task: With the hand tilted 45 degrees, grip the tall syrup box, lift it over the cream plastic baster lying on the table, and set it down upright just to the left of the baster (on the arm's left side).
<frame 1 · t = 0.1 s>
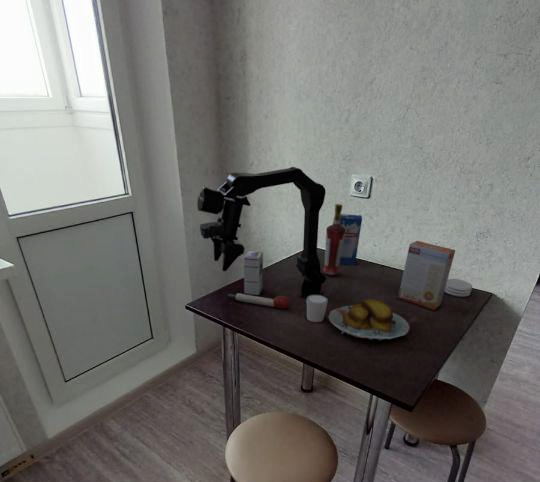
hand: (219, 265, 129), 15 cm above the table, tool pointing down, fingers open, 9 cm apart
cracker box: (418, 302, 147), on the table
liquor: (330, 274, 167), on the table
coaster: (456, 292, 156), on the table
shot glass: (315, 318, 134), on the table
syrup box: (253, 292, 150), on the table
baster: (258, 303, 141), on the table
milk carton: (343, 262, 181), on the table
food on plate: (367, 327, 130), on the table
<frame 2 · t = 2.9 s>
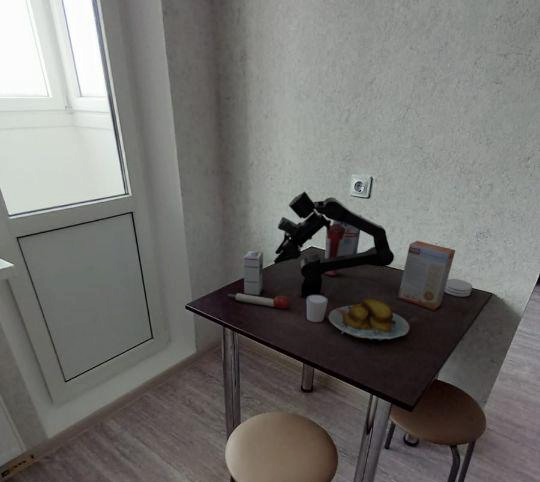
hand: (275, 257, 142), 14 cm above the table, tool tilted 45°, fingers open, 9 cm apart
nothing on the table moved.
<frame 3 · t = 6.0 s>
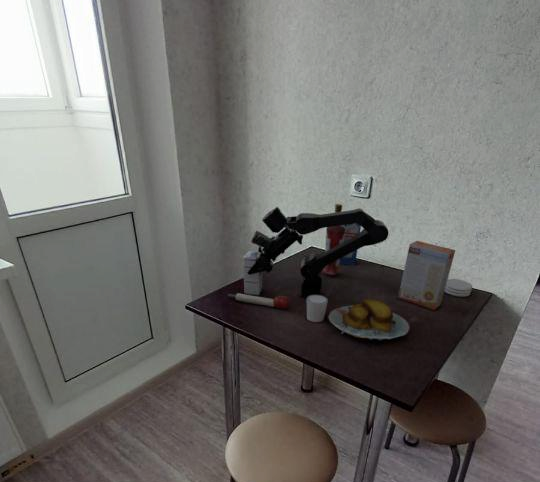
hand: (249, 270, 146), 8 cm above the table, tool tilted 45°, fingers closed on syrup box, 6 cm apart
syrup box: (253, 291, 150), on the table, touching gripper
everything else where it was.
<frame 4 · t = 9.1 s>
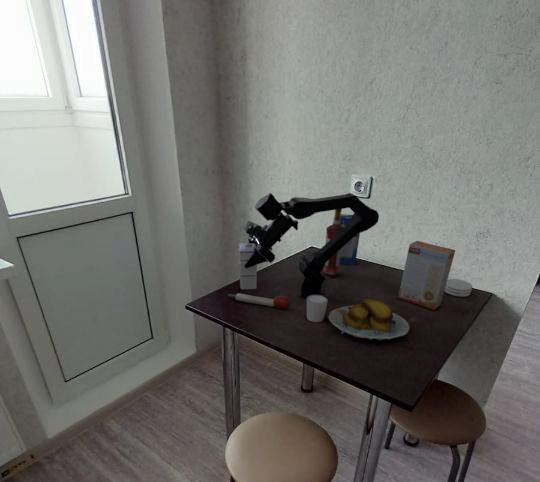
hand: (243, 263, 137), 14 cm above the table, tool tilted 45°, fingers closed on syrup box, 6 cm apart
syrup box: (248, 286, 141), point 5 cm above the table, touching gripper
everything else where it was.
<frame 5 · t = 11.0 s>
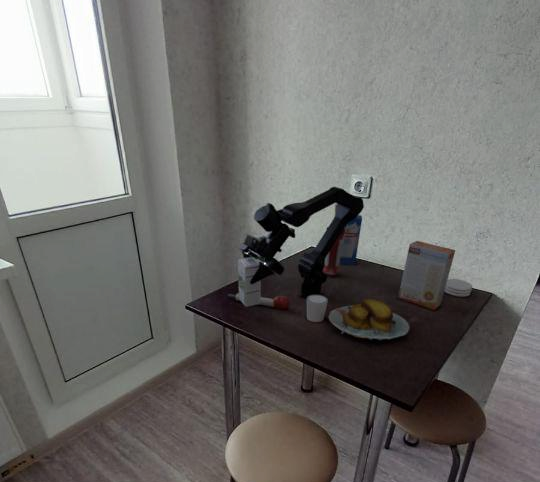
hand: (245, 279, 129), 12 cm above the table, tool tilted 45°, fingers closed on syrup box, 6 cm apart
syrup box: (249, 302, 134), point 4 cm above the table, touching gripper
everything else where it was.
when the fingers open (8 cm above the table, at t = 12.6 s): syrup box stays where it is, on the table.
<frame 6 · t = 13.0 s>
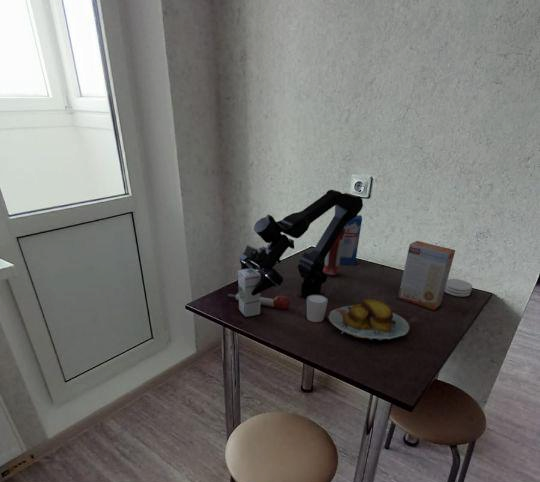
hand: (244, 289, 130), 9 cm above the table, tool tilted 45°, fingers open, 9 cm apart
syrup box: (249, 312, 136), on the table
everything else where it was.
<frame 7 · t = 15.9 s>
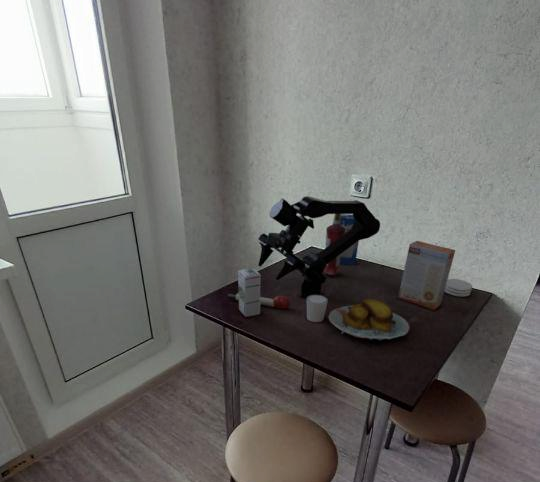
hand: (267, 272, 137), 11 cm above the table, tool tilted 35°, fingers open, 9 cm apart
nothing on the table moved.
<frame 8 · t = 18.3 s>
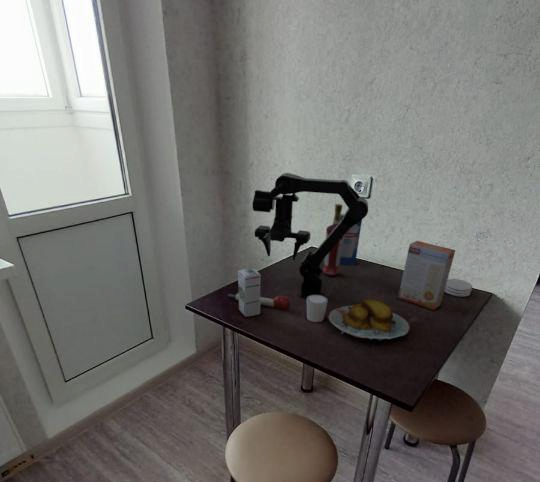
hand: (281, 257, 144), 13 cm above the table, tool pointing down, fingers open, 9 cm apart
nothing on the table moved.
at the end: syrup box inside the target area on the table beside the baster (0.9 cm from its centre), on the table; syrup box tilted 0°; the gripper is holding nothing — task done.
